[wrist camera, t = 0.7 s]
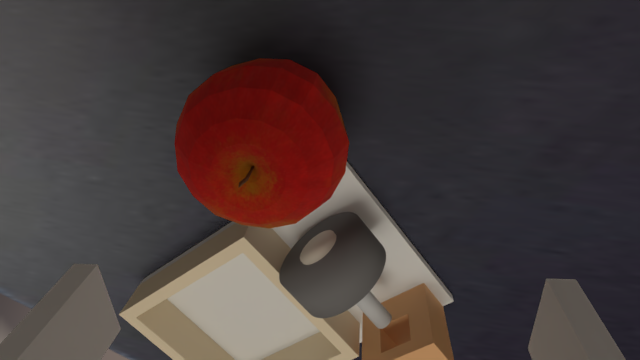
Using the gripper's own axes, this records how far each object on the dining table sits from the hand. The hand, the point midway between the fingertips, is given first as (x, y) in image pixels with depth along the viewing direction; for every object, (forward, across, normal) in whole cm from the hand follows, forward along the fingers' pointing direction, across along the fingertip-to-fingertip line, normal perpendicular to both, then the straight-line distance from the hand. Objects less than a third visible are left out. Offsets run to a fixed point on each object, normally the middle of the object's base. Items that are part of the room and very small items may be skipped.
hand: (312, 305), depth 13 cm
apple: (+19, -4, 0) cm, 20 cm away
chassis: (+19, -5, -16) cm, 25 cm away
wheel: (+18, +1, -12) cm, 21 cm away
